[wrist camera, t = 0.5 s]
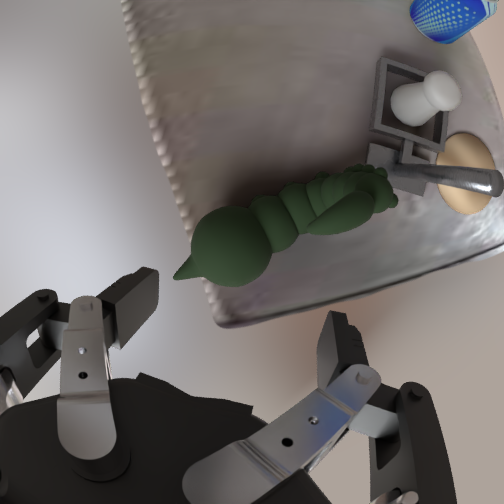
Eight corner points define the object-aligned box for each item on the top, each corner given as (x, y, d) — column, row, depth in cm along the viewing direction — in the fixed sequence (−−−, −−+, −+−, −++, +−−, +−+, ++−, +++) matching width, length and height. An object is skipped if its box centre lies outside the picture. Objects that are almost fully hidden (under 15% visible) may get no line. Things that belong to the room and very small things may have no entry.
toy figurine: (333, 149, 35) (176, 231, 40) (384, 128, 17) (106, 274, 22) (362, 211, 37) (208, 286, 42) (428, 242, 19) (163, 361, 24)
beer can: (461, 36, 24) (513, 2, 8) (435, 54, 26) (489, 15, 11) (425, -2, 22) (464, -49, 7) (396, 13, 25) (432, -41, 10)
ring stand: (374, 65, 29) (438, -15, 8) (437, 88, 28) (534, 47, 7) (358, 178, 34) (431, 199, 14) (423, 196, 33) (527, 237, 13)
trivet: (440, 122, 30) (442, 121, 29) (497, 150, 28) (499, 149, 28) (428, 201, 33) (429, 202, 33) (485, 222, 32) (487, 222, 32)
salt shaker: (392, 81, 29) (430, 50, 17) (427, 102, 29) (475, 82, 17) (380, 115, 31) (416, 94, 19) (415, 136, 31) (463, 127, 19)
